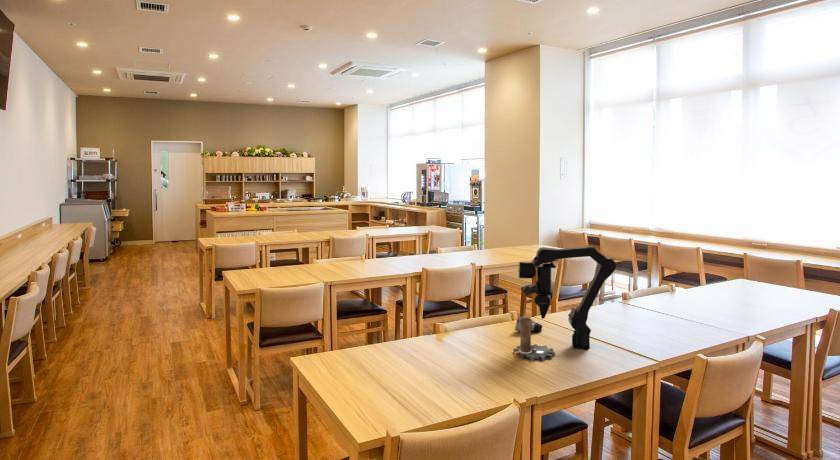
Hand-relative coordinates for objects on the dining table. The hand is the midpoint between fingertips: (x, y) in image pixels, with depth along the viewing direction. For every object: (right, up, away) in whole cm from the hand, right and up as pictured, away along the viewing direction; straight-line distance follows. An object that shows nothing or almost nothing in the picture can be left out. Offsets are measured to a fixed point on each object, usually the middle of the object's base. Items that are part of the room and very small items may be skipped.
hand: (543, 315), depth 220 cm
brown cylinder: (-9, -13, -9) cm, 18 cm away
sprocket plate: (-6, -14, -8) cm, 17 cm away
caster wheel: (-1, -11, +23) cm, 26 cm away
